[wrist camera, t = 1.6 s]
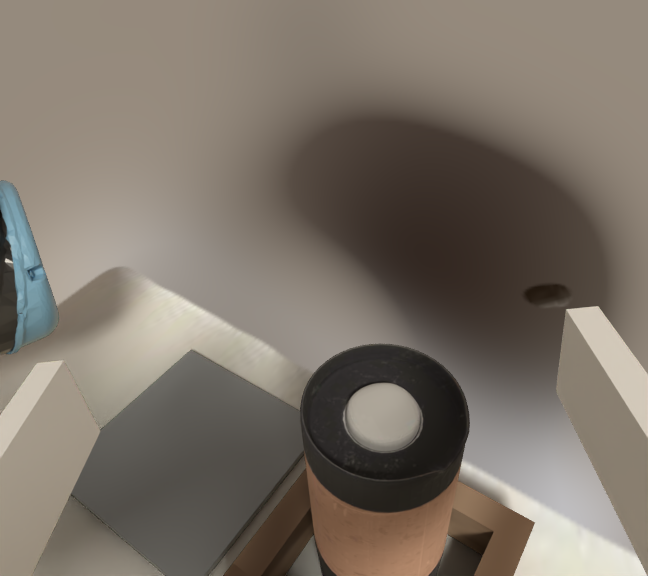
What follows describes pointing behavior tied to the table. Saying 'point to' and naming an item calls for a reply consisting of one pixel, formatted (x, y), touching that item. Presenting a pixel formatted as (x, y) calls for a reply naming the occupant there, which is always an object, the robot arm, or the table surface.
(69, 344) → the table surface
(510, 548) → the frame
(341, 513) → the travel mug
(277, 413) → the rubber mat
